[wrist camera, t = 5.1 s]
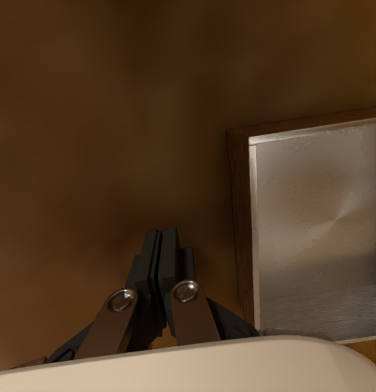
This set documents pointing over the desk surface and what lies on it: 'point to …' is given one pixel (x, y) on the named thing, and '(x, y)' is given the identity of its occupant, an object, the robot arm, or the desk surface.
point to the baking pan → (307, 223)
